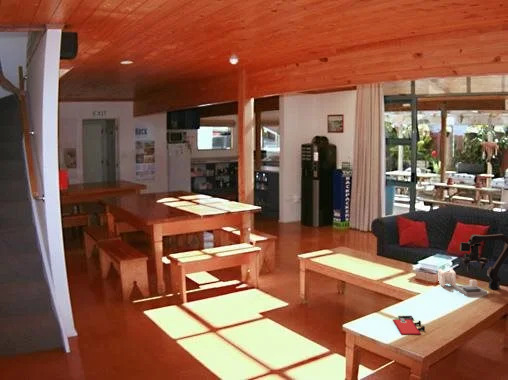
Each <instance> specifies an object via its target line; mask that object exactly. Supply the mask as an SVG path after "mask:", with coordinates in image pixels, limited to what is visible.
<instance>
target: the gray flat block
mask: <svg viewBox="0 0 508 380" xmlns="http://www.w3.org/2000/svg"><path fill="white" fill-rule="evenodd" d="M478 287H479V286H478ZM478 287H463V290H464V291H465V292H480V290H481V289H482V288H481V289H479V288H478Z"/></svg>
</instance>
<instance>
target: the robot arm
mask: <svg viewBox="0 0 508 380" xmlns="http://www.w3.org/2000/svg"><path fill="white" fill-rule="evenodd" d="M489 241H491V242H492V241H502V242H503V243H504V246H503V250H502V252H501V253H500V255H499V256H498V258H497V260H496V261H495V263H494V264H493V265H492V266H489V267H488V268H487V270H486V271H487V272H486V275H487V277H489V282H488V288H489V289H491V290H501V287H500V286H501V285H500V283H501V278H500V277H499V273H500V269H501V267H502V266H503V264H504V262H505V261H506V259H507V258H508V237H506V236H505V234H503V233H497V234H496V233H495V234H483V235H482V234H472V235H471V236H470V237H469V239H468V240H467V242H464V241H463V242H462V241H461V242H460V244H459V251H460V252H465V253H464V254H463V255H464V256H463V257H464V258H461V259H460V263H462V264H463V265H464V266H465V268H466V271H467V273H470V269H471V268H470V266H471V264H470V263H478V264H479V269H478V270H479V273H481V272H482V271H483V268H484V267H485V265H487V264H489V260H488V258H485V257H480V255H481V254H480V247H483V245H482V244H481V243H483V242H489ZM467 252H469V253H467Z"/></svg>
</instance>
